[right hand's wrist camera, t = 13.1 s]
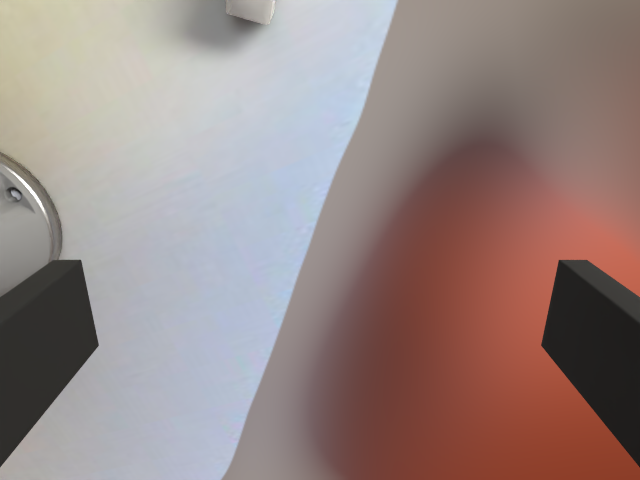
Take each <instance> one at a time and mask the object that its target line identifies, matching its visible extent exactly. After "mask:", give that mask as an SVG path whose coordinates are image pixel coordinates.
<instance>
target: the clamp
mask: <svg viewBox="0 0 640 480" xmlns="http://www.w3.org/2000/svg"><path fill="white" fill-rule="evenodd" d="M275 3H276V0H226V13H227V14H230V15H233V16H237V17H240V18H244V19H247V20H250V21H254V22H257V23H261V24H264V25H268V24H269V23H270V21H271V18H272V16H273V13H274V10H275Z"/></svg>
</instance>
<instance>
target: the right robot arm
mask: <svg viewBox="0 0 640 480" xmlns="http://www.w3.org/2000/svg"><path fill="white" fill-rule="evenodd" d="M61 245H62V231H61V225H60V220H59V217H58V214H57V211H56V209H55V206H54V204H53V202H52V200H51V198H50V197H49V195H48V193H47V192H46V190H45V189H44V188H43V186H42V185H41V184H40V183H39V181H38V180H37V179H36V178H35V177H34V176H33V175H32V174H31V173H30V172H29V171H28V170H27V169H25V168H24V167H23V166H22V165H20V164H19V163H18V162H16V161H15V160H13V159H12V158H10V157H8V156H6V155H5V154H3V153H1V152H0V467H1V466H2V464H3V463H4V462H5V461H6V459H7V458H8V457H9V456H10V455H11V453H12V452H13V451H14V450H15V448H16V447H17V446H18V445H19V443H20V442H21V441H22V440H23V438H24V437H25V436H26V435H27V434H28V432H29V431H30V430H31V429H32V427H33V426H34V425H35V424H36V422H37V421H38V420H39V419H40V417H41V416H42V415H43V414H44V413H45V411H46V410H47V409H48V408H49V406H50V405H51V404H52V403H53V401H54V400H55V399H56V398H57V396H58V395H59V394H60V393H61V392H62V390H63V389H64V388H65V387H66V385H67V384H68V383H69V382H70V380H71V379H72V378H73V377H74V375H75V374H76V373H77V372H78V370H79V369H80V368H81V367H82V366H83V364H84V363H85V362H86V361H87V359H88V358H89V357H90V356H91V354H92V353H93V352H94V351H95V349H96V348H97V347H98V346H99V344H98V340H97V335H96V330H95V325H94V320H93V315H92V311H91V306H90V301H89V296H88V291H87V287H86V282H85V277H84V272H83V267H82V262H81V260H58V258H59V255H60V251H61ZM541 346H542V347H543V348H544V349H545V351H546V352H547V353H548V354H549V356H550V357H551V358H552V359H553V361H554V362H555V363H556V364H557V365H558V367H559V368H560V369H561V370H562V372H563V373H564V374H565V375H566V377H567V378H568V379H569V380H570V382H571V383H572V384H573V385H574V386H575V388H576V389H577V390H578V392H579V393H580V394H581V395H582V396H583V398H584V399H585V400H586V401H587V403H588V404H589V405H590V406H591V408H592V409H593V410H594V411H595V412H596V414H597V415H598V416H599V417H600V419H601V420H602V421H603V422H604V424H605V425H606V426H607V427H608V429H609V430H610V431H611V432H612V434H613V435H614V436H615V437H616V438H617V440H618V441H619V442H620V443H621V445H622V446H623V447H624V448H625V450H626V451H627V452H628V453H629V455H630V456H631V457H632V458H633V459H634V461H635V462H636V463H637V464H638V466H639V467H640V297H639V296H637V295H636V294H634V293H633V292H631V291H630V290H629V289H627V288H626V287H624V286H623V285H622V284H620V283H619V282H617V281H616V280H615V279H613V278H612V277H610V276H609V275H607V274H606V273H604V272H603V271H602V270H600V269H599V268H598V267H596V266H595V265H593V264H592V263H590V262H589V261H588V260H559V262H558V267H557V272H556V277H555V282H554V287H553V291H552V296H551V301H550V306H549V311H548V315H547V320H546V325H545V330H544V335H543V340H542V344H541Z"/></svg>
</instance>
